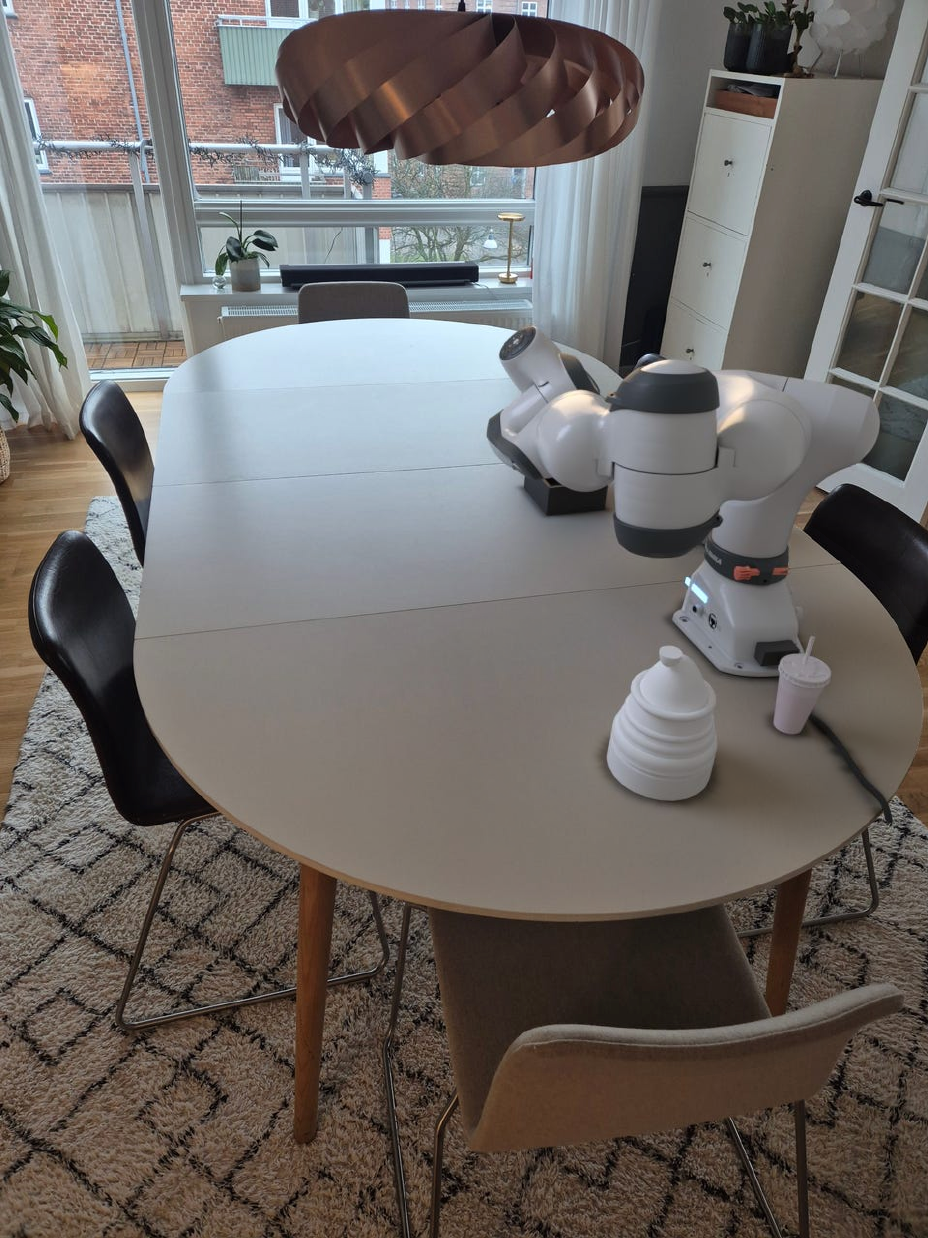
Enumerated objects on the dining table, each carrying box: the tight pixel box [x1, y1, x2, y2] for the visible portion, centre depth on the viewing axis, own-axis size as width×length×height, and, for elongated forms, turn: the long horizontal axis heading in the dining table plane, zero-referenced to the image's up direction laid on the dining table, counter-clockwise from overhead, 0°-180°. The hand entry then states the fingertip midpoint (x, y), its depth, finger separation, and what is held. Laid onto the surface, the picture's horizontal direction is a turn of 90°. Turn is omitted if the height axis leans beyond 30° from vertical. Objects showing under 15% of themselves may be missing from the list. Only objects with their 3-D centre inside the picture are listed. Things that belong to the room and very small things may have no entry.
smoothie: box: [773, 635, 832, 735], centre depth 113 cm, size 6×6×14 cm
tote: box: [523, 476, 609, 516], centre depth 173 cm, size 13×12×6 cm
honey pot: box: [606, 645, 718, 802], centre depth 104 cm, size 13×13×18 cm
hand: (602, 447), depth 154 cm, fingers closed on candle, 5 cm apart
